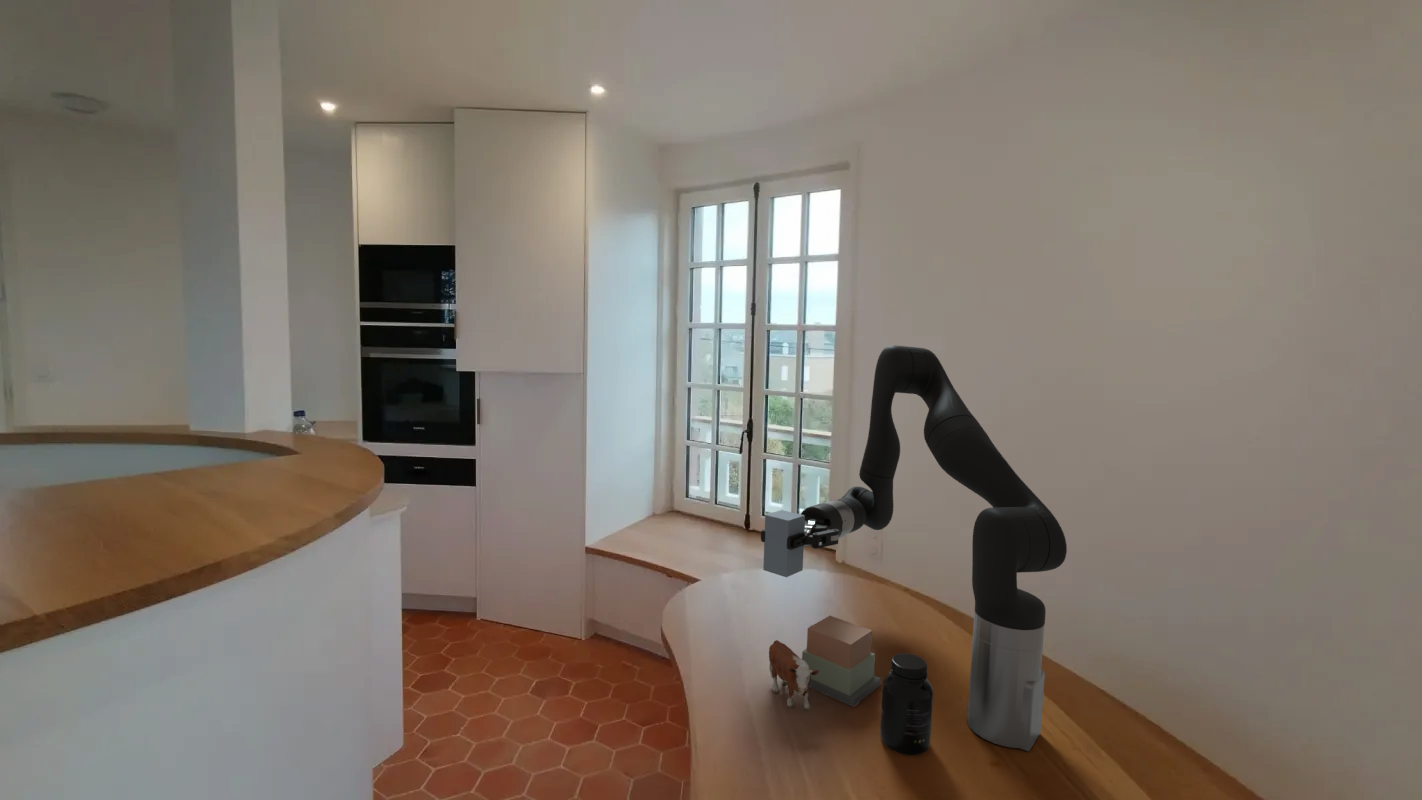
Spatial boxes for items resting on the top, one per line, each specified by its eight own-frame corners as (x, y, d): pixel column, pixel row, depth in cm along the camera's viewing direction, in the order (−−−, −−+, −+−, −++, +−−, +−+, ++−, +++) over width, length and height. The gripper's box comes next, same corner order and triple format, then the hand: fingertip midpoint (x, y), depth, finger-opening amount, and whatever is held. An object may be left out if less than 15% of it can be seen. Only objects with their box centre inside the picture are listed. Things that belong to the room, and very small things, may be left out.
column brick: (802, 570, 110) (804, 515, 110) (786, 577, 107) (788, 520, 106) (779, 563, 114) (781, 510, 113) (763, 570, 110) (765, 514, 109)
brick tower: (880, 685, 102) (883, 631, 102) (853, 707, 96) (856, 650, 95) (823, 661, 110) (825, 611, 109) (794, 680, 103) (796, 627, 102)
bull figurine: (795, 727, 90) (797, 673, 90) (763, 679, 103) (765, 632, 103) (822, 723, 91) (825, 670, 91) (787, 676, 104) (789, 629, 104)
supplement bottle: (870, 731, 90) (874, 651, 89) (910, 724, 92) (915, 646, 91) (897, 761, 83) (902, 676, 82) (940, 753, 85) (945, 669, 84)
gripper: (796, 496, 125) (744, 511, 112) (861, 510, 115) (811, 527, 103) (795, 532, 125) (742, 551, 113) (859, 549, 116) (809, 571, 103)
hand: (775, 540), depth 108 cm, fingers closed on column brick, 5 cm apart
